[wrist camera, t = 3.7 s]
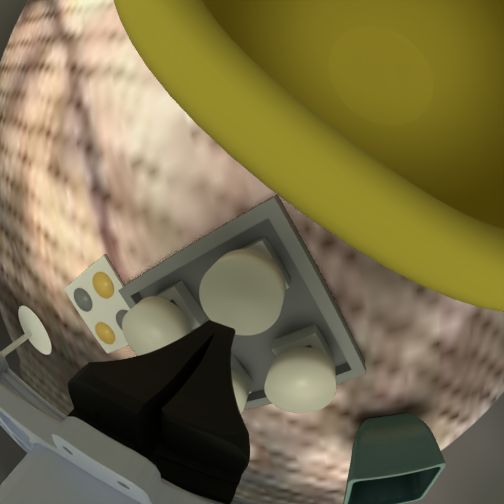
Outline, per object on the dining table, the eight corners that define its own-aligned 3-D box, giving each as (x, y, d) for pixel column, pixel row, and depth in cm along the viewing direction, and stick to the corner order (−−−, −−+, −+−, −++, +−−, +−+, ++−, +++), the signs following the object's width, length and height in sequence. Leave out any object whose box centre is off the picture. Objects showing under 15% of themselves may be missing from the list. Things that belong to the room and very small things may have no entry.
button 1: (289, 389, 22) (284, 419, 19) (260, 347, 22) (251, 377, 18) (344, 371, 21) (345, 401, 18) (319, 325, 20) (318, 354, 17)
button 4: (167, 346, 24) (148, 370, 21) (134, 300, 23) (111, 320, 20) (209, 330, 22) (193, 356, 19) (174, 278, 21) (151, 298, 18)
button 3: (220, 397, 26) (209, 421, 23) (192, 362, 26) (177, 386, 22) (262, 387, 25) (254, 413, 22) (234, 348, 24) (222, 374, 21)
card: (108, 352, 29) (106, 354, 29) (65, 288, 28) (63, 289, 27) (156, 332, 26) (154, 335, 26) (105, 254, 25) (102, 255, 24)
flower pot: (347, 407, 24) (348, 481, 16) (428, 395, 22) (448, 463, 14) (344, 451, 27) (341, 512, 19) (412, 441, 25) (422, 499, 16)
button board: (218, 405, 28) (213, 416, 26) (127, 283, 25) (116, 291, 23) (364, 361, 22) (366, 374, 21) (277, 194, 20) (273, 197, 18)
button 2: (240, 318, 21) (227, 345, 18) (204, 262, 20) (184, 281, 17) (300, 292, 20) (297, 318, 16) (264, 229, 19) (253, 244, 15)
